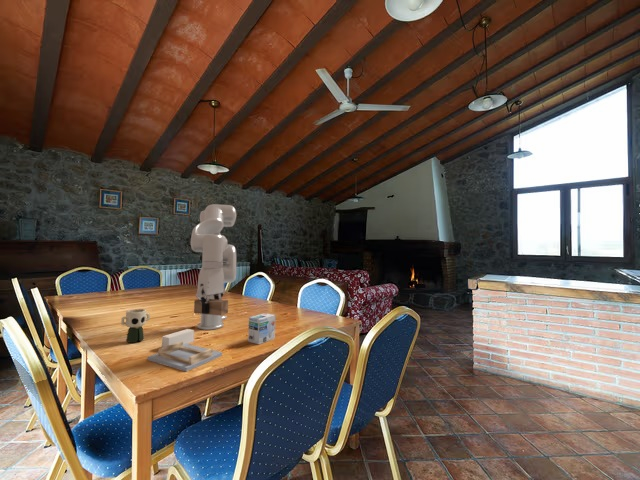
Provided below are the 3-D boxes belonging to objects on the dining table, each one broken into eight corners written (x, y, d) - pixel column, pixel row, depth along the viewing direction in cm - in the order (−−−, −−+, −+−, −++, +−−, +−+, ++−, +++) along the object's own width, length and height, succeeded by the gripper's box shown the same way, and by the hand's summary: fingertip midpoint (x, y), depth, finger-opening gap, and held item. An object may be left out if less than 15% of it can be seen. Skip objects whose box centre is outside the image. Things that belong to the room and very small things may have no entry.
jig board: (185, 346, 120) (185, 343, 120) (222, 355, 111) (222, 352, 111) (147, 359, 105) (147, 356, 105) (186, 371, 97) (186, 367, 97)
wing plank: (187, 340, 128) (187, 328, 128) (193, 341, 126) (194, 330, 126) (161, 348, 117) (162, 336, 117) (168, 350, 115) (169, 338, 115)
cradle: (180, 347, 115) (180, 341, 115) (212, 355, 108) (212, 349, 108) (158, 355, 106) (158, 348, 106) (191, 365, 99) (191, 357, 99)
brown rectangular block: (201, 310, 118) (201, 298, 119) (227, 313, 115) (228, 300, 116) (194, 313, 114) (194, 300, 114) (221, 315, 111) (221, 302, 111)
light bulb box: (258, 345, 124) (259, 319, 124) (247, 342, 127) (248, 317, 128) (275, 338, 133) (276, 314, 133) (264, 335, 136) (265, 312, 137)
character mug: (124, 346, 118) (125, 314, 118) (117, 342, 122) (118, 311, 122) (152, 339, 127) (153, 309, 127) (144, 336, 131) (146, 307, 131)
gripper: (220, 264, 124) (219, 307, 124) (187, 266, 109) (186, 315, 108) (234, 265, 121) (233, 309, 121) (203, 267, 106) (201, 317, 105)
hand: (210, 311), depth 115 cm, fingers closed on brown rectangular block, 5 cm apart
